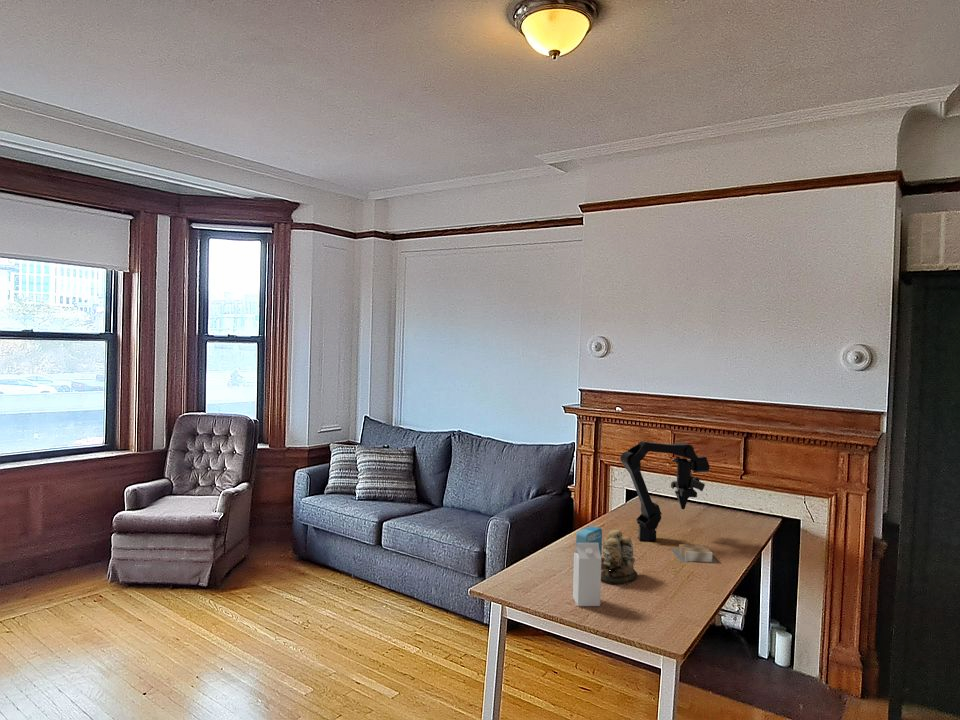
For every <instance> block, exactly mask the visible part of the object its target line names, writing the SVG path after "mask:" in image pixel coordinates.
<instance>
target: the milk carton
mask: <svg viewBox="0 0 960 720" xmlns="http://www.w3.org/2000/svg"><path fill="white" fill-rule="evenodd" d="M601 572H602V554H601V555H600V550H599V543H577V547H576V546H575V549H574V551H573V575H572V576H573V578H572V579H573V580H572V581H573V582H572V598H573V600H574V601H575V604H576V606H577V607H601V592H602V591H601V586H602V585H601V584H602V581H601Z"/></svg>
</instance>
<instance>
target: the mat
mask: <svg viewBox="0 0 960 720" xmlns="http://www.w3.org/2000/svg"><path fill="white" fill-rule="evenodd" d="M670 550H671V552H672V553H673V554H674V555H675V556H676V557H677V559H678V560H679V561H680V562H681V563H685V562H686V563H703V562H702V561H685V560H684V558H683V557H682V556H681V555H680V554H679V548H678V549H675V548H671V549H670ZM704 563H705V564H706V563H708V564H710V563H711V564H712V563H713V564H718V563H719V562H718V560H716V559H715V557H713V556H712V562H704Z"/></svg>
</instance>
